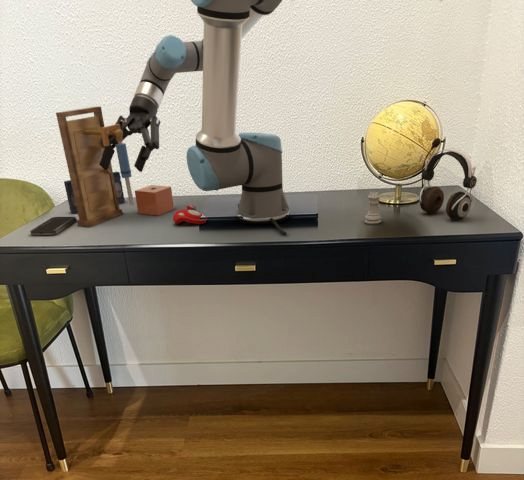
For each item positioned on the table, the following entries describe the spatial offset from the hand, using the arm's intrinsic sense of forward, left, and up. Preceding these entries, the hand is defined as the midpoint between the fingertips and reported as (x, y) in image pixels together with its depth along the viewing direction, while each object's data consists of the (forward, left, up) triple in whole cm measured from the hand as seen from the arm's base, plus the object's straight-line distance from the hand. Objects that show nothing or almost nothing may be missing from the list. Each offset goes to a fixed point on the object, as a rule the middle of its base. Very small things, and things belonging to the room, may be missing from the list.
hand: (120, 168), depth 151 cm
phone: (+4, +22, -16) cm, 27 cm away
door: (+3, +4, -16) cm, 16 cm away
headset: (-33, -84, -16) cm, 92 cm away
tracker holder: (-6, -18, -16) cm, 25 cm away
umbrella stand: (+10, -9, -16) cm, 20 cm away
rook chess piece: (-30, -64, -16) cm, 73 cm away
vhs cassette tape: (+24, +9, -16) cm, 30 cm away
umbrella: (+1, 0, -11) cm, 11 cm away
